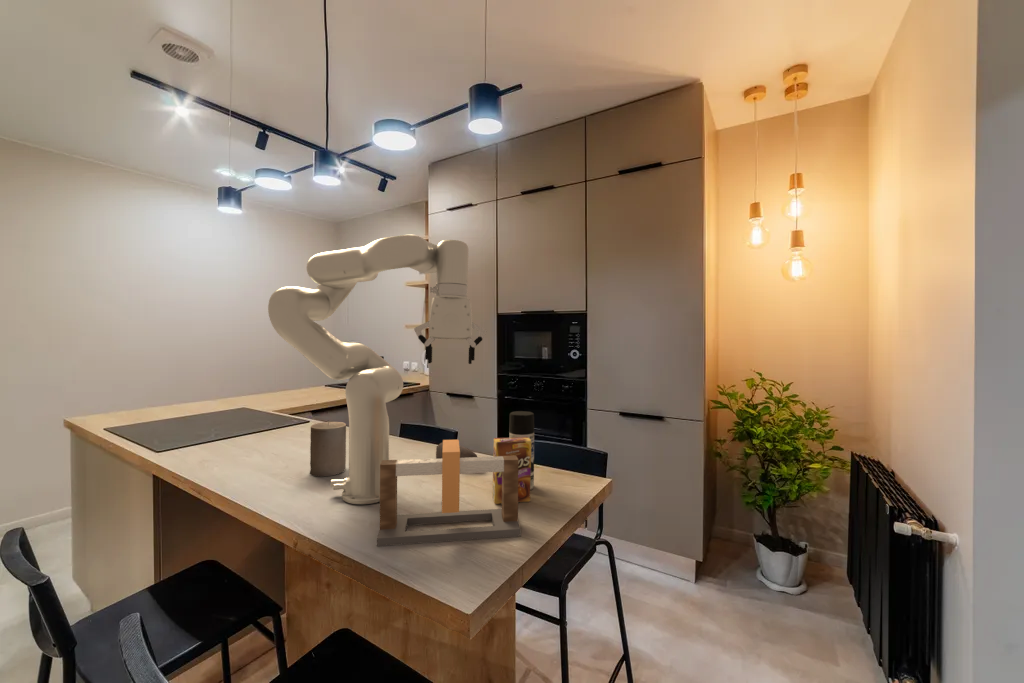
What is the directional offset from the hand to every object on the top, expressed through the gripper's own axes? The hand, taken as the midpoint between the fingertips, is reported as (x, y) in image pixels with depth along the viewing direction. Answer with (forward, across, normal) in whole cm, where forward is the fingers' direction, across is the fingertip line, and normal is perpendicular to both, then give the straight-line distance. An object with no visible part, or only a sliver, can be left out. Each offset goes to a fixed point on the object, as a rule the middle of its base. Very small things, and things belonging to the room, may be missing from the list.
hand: (450, 363), depth 99 cm
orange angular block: (+28, +1, -15) cm, 32 cm away
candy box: (+34, +16, -1) cm, 37 cm away
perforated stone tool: (+34, +2, +25) cm, 42 cm away
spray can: (+34, +19, +7) cm, 40 cm away
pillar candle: (+34, -35, +25) cm, 55 cm away
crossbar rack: (+34, +1, -15) cm, 37 cm away
